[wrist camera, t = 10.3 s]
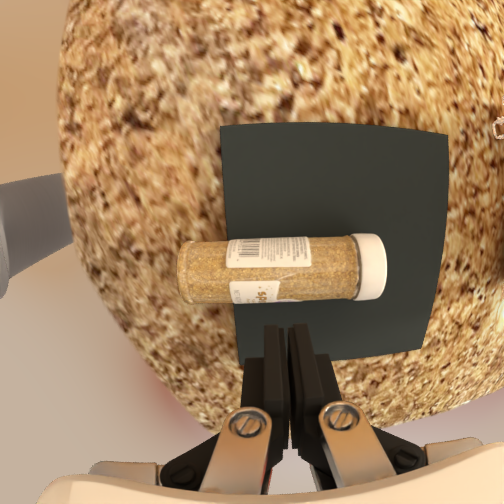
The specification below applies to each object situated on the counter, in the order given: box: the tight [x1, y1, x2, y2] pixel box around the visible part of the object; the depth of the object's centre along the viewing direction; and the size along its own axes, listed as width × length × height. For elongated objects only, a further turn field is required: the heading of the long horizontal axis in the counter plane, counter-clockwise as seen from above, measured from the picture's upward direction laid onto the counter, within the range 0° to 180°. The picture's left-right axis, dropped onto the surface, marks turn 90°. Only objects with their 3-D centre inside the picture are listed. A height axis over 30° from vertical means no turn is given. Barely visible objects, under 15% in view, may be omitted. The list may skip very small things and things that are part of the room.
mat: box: [220, 122, 449, 365], centre depth 21 cm, size 18×20×1 cm
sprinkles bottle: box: [176, 234, 387, 305], centre depth 19 cm, size 5×5×13 cm
